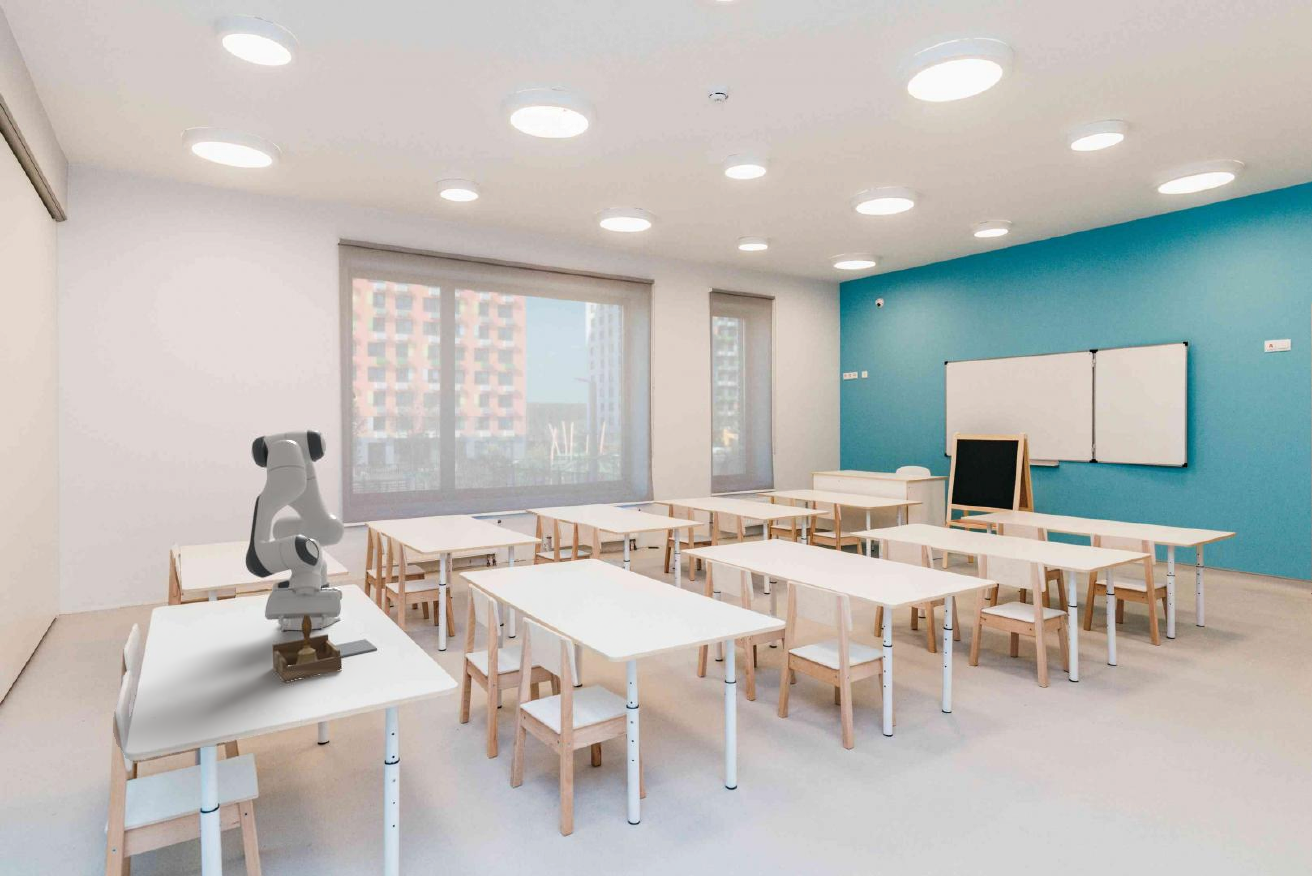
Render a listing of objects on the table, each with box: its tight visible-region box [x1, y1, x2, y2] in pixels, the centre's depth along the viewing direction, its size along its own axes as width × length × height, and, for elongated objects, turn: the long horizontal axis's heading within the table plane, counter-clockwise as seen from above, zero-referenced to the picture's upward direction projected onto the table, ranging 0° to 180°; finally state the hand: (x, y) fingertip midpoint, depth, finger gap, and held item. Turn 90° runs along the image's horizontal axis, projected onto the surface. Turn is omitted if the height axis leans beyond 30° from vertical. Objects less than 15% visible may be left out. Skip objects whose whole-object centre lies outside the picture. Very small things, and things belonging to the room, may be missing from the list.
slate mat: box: [334, 638, 378, 658], centre depth 224 cm, size 12×12×1 cm
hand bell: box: [296, 614, 317, 665], centre depth 206 cm, size 8×8×16 cm
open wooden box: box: [272, 633, 342, 683], centre depth 207 cm, size 15×15×7 cm
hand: (302, 630), depth 208 cm, fingers open, 8 cm apart
